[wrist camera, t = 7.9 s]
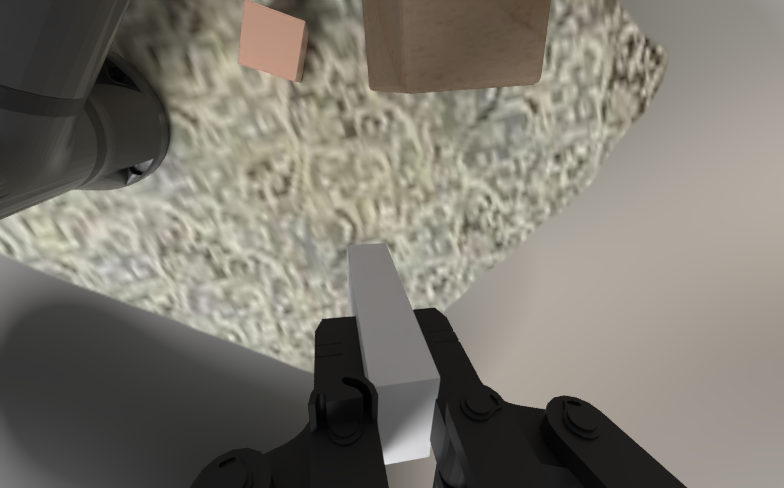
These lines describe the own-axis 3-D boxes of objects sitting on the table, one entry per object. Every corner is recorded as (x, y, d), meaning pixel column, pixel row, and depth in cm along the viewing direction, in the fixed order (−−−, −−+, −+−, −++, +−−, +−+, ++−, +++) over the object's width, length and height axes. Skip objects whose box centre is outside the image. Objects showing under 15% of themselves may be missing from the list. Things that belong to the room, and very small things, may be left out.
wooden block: (360, -12, 35) (396, -115, 17) (450, -15, 36) (568, -112, 19) (369, 91, 39) (404, 94, 22) (448, 85, 41) (543, 84, 23)
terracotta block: (255, 68, 36) (237, 63, 29) (261, 16, 34) (244, -2, 27) (301, 82, 38) (295, 81, 31) (309, 34, 36) (304, 21, 29)
